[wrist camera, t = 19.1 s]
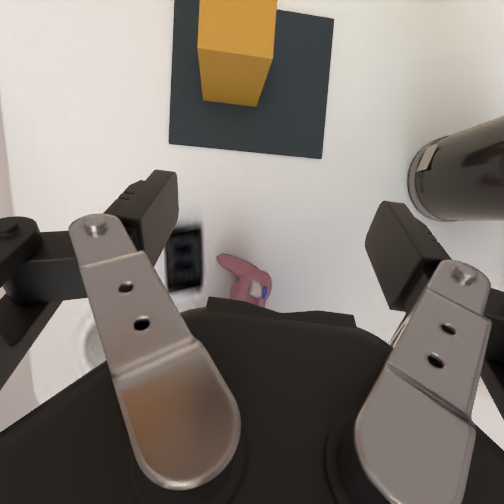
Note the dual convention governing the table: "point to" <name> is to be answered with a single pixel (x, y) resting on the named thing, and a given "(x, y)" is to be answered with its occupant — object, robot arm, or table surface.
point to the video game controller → (247, 280)
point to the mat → (272, 96)
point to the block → (235, 49)
